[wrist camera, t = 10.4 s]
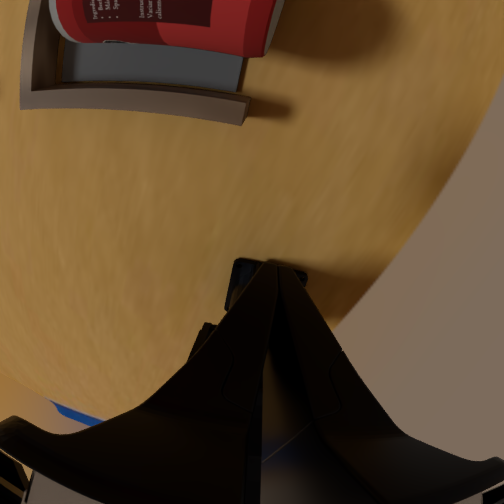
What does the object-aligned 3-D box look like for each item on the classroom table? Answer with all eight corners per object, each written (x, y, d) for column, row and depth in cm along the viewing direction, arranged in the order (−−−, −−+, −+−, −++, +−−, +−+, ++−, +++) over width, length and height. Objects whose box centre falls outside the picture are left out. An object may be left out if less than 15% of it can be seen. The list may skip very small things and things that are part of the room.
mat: (236, 91, 17) (235, 92, 17) (63, 81, 16) (61, 82, 16) (271, -52, 10) (271, -54, 10) (85, -42, 10) (83, -43, 10)
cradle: (246, 117, 18) (241, 125, 16) (43, 100, 17) (19, 109, 15) (291, -66, 10) (293, -83, 7) (67, -51, 9) (45, -56, 6)
